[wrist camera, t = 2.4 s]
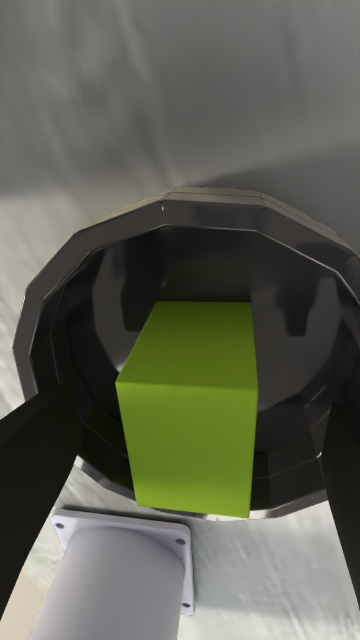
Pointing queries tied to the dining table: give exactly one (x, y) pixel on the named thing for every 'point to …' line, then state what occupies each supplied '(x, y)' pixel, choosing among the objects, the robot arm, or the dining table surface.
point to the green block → (192, 407)
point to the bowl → (202, 286)
